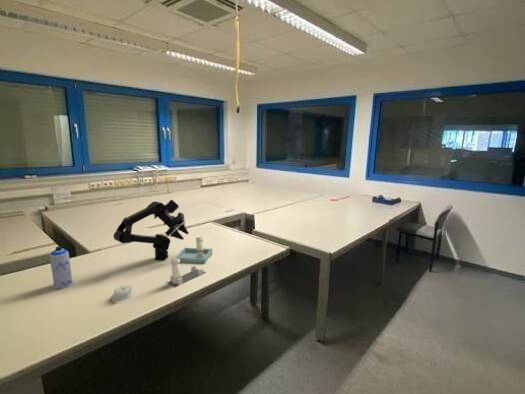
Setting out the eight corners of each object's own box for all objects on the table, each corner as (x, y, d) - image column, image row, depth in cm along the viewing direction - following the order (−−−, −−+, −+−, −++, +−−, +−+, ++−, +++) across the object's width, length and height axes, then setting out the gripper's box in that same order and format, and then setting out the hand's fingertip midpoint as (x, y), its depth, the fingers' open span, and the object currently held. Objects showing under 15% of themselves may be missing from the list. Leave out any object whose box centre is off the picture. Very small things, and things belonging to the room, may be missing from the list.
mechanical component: (129, 303, 125) (139, 291, 135) (129, 294, 124) (138, 283, 134) (107, 303, 125) (118, 291, 135) (106, 294, 124) (117, 283, 134)
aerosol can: (66, 279, 145) (61, 243, 141) (76, 282, 142) (71, 245, 138) (50, 287, 138) (44, 248, 133) (60, 290, 135) (55, 251, 131)
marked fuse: (198, 259, 170) (197, 240, 167) (195, 256, 173) (195, 238, 171) (204, 257, 172) (204, 238, 169) (202, 255, 175) (201, 236, 173)
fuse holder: (166, 284, 142) (166, 277, 141) (197, 270, 157) (197, 263, 156) (175, 289, 137) (174, 281, 137) (206, 274, 153) (206, 267, 152)
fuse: (170, 284, 140) (169, 261, 138) (174, 280, 144) (173, 258, 142) (179, 284, 140) (178, 262, 137) (182, 280, 144) (181, 258, 141)
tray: (175, 263, 165) (174, 257, 165) (184, 252, 181) (184, 247, 180) (205, 265, 164) (205, 259, 163) (212, 254, 180) (212, 248, 179)
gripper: (169, 214, 159) (189, 233, 160) (180, 205, 177) (198, 223, 179) (156, 226, 161) (177, 245, 163) (169, 217, 179) (187, 234, 181)
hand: (185, 236), depth 171 cm, fingers open, 9 cm apart
